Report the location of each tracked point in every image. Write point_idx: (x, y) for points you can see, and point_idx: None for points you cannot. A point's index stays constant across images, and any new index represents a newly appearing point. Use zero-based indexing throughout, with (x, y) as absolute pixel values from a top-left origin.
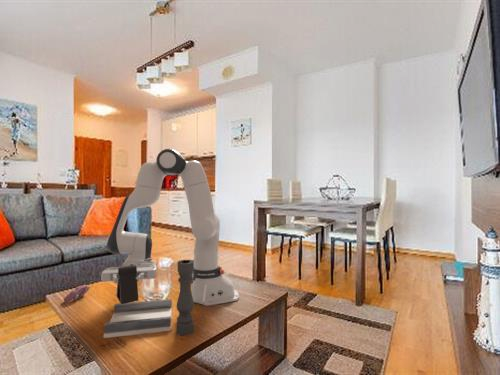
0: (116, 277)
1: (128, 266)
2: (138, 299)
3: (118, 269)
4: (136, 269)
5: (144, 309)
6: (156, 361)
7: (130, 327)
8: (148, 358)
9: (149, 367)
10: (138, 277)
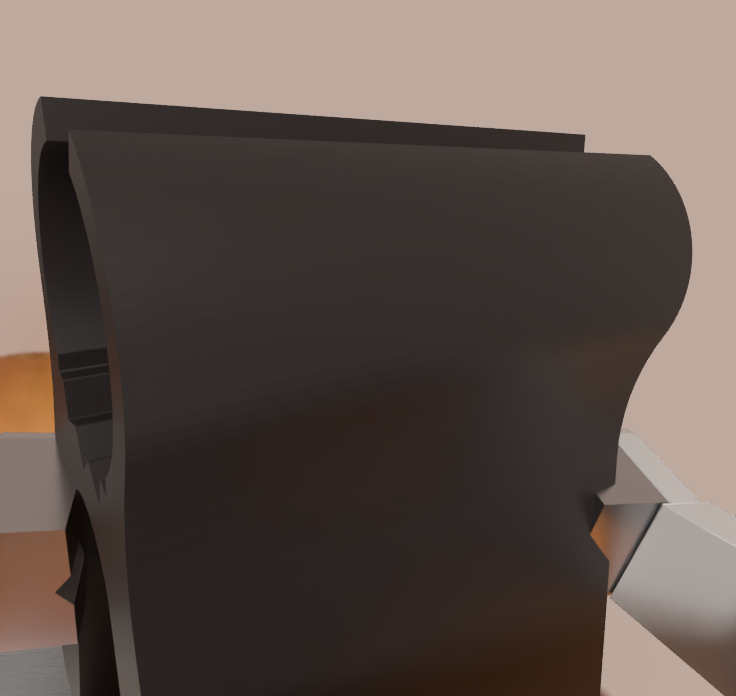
0: (628, 463)
1: (411, 150)
2: (62, 648)
3: (667, 244)
4: (46, 204)
5: None
6: (6, 383)
7: None
8: (45, 405)
9: (49, 362)
10: (2, 439)
